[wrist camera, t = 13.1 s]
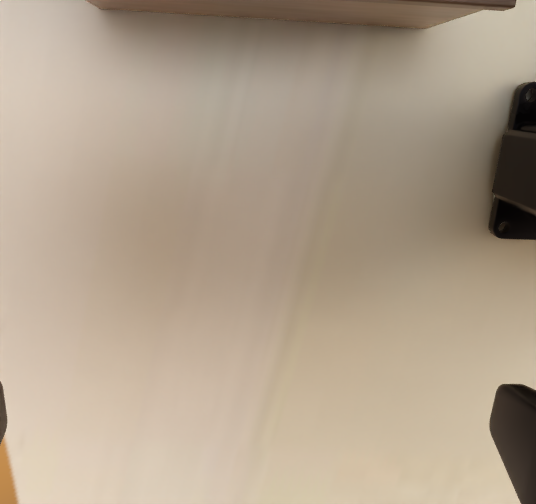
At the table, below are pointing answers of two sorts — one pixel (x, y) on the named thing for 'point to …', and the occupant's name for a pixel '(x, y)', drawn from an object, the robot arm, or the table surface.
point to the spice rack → (321, 10)
